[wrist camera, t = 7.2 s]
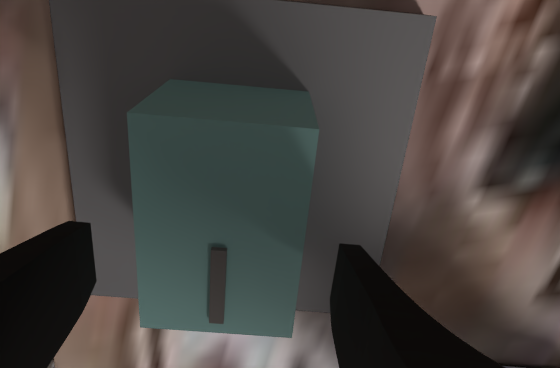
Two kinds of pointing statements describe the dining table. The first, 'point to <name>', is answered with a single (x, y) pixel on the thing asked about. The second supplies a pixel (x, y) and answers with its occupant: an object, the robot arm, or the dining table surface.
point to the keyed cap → (221, 205)
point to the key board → (246, 72)
